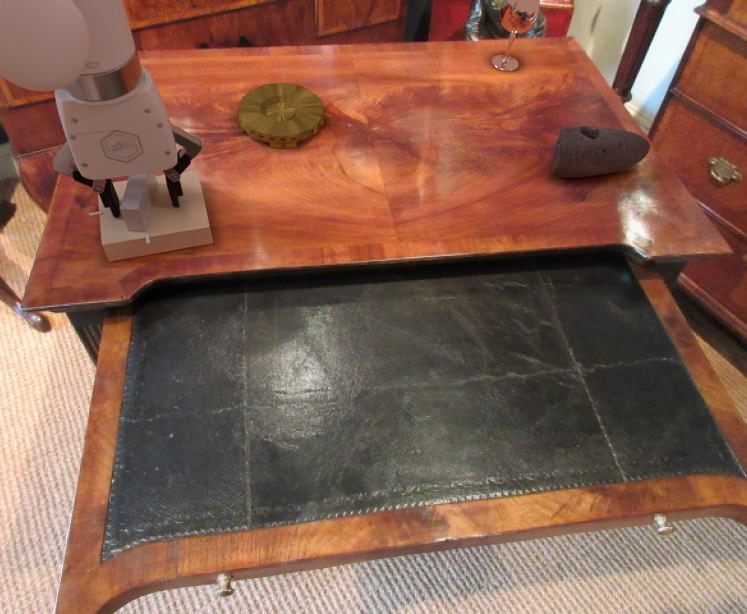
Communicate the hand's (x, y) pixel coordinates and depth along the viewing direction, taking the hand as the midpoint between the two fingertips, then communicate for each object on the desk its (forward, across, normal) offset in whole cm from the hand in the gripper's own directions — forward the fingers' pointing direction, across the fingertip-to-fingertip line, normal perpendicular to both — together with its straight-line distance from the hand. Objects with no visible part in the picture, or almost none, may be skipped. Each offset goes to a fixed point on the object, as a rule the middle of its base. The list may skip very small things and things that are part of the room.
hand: (145, 203), depth 72 cm
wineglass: (+4, +58, +24) cm, 63 cm away
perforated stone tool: (+4, +60, -4) cm, 60 cm away
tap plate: (+3, +1, 0) cm, 3 cm away
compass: (+4, +19, +16) cm, 25 cm away
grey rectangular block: (0, 0, 0) cm, 0 cm away
